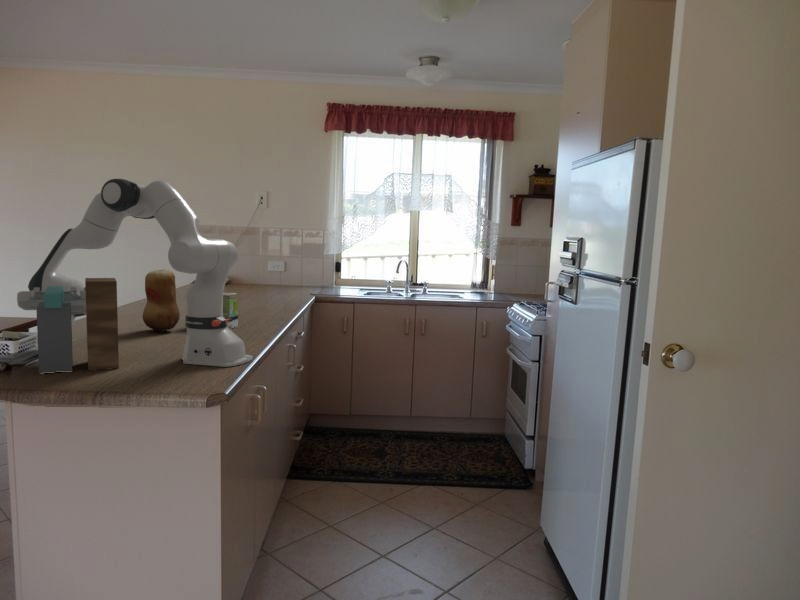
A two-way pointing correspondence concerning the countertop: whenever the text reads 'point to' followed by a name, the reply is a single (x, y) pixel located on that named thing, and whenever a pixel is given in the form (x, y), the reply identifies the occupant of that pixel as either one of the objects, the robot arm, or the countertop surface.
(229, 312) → the tea box
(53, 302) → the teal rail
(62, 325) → the upright gray pillar
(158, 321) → the butternut squash
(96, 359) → the tall stand
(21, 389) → the countertop surface
